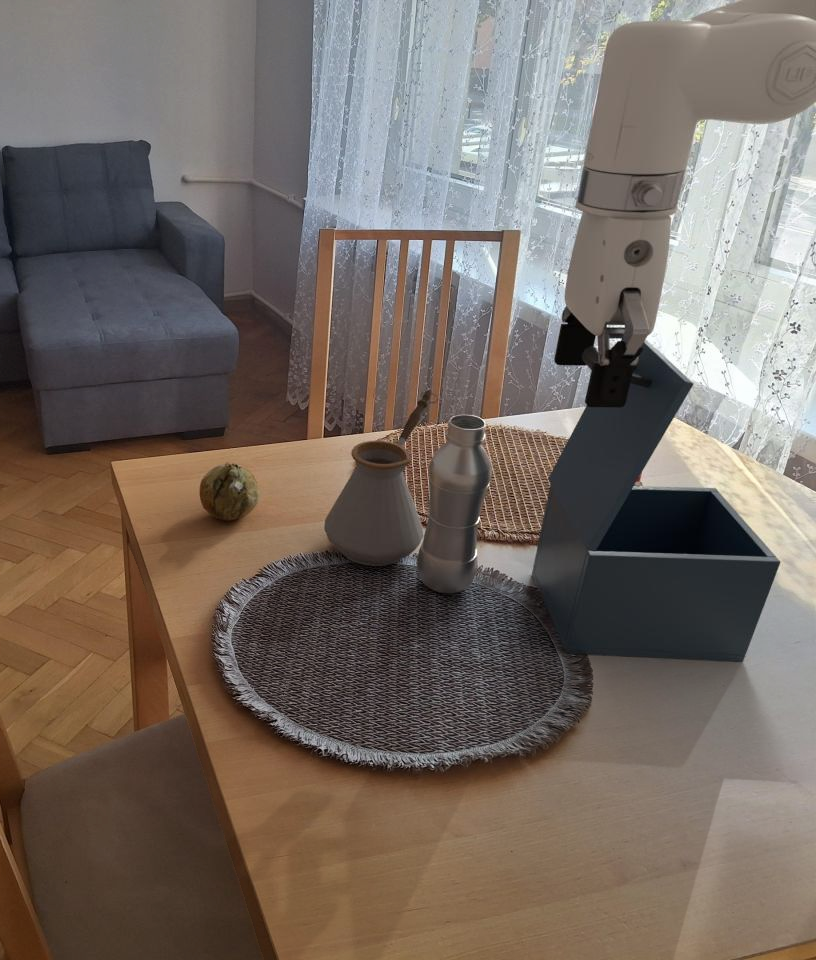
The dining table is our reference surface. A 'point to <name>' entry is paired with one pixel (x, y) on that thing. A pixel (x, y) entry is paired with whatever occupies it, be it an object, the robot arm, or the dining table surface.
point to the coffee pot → (378, 502)
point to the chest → (656, 578)
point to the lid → (616, 444)
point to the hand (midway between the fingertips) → (586, 384)
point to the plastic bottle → (455, 507)
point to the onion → (229, 492)
